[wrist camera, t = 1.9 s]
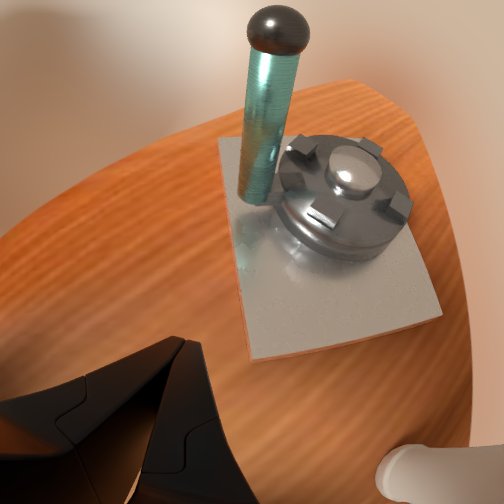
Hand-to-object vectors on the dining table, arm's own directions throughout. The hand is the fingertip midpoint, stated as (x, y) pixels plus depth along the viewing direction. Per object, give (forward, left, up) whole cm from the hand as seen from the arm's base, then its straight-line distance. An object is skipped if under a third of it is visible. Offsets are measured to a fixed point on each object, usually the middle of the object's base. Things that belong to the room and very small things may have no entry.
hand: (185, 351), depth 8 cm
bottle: (-11, -14, -14) cm, 22 cm away
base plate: (+12, -12, -14) cm, 22 cm away
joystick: (+13, -11, -11) cm, 21 cm away
